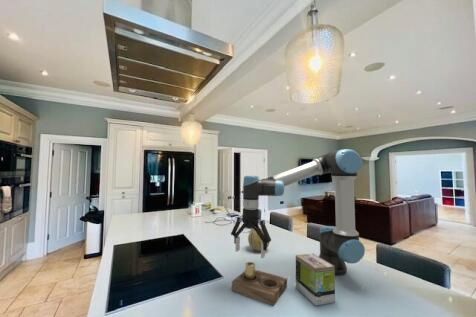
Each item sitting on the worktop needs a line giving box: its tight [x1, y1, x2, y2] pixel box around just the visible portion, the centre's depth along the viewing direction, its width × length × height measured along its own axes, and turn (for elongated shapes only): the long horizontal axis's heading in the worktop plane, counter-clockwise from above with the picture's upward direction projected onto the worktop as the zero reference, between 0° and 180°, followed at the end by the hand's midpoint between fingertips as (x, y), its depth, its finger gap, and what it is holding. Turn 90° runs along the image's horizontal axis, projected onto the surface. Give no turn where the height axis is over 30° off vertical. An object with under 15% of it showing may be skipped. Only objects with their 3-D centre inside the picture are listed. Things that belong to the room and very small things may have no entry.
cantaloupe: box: [247, 227, 271, 252], centre depth 146 cm, size 15×15×15 cm
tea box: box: [295, 253, 336, 306], centre depth 95 cm, size 15×10×15 cm, turn 17°
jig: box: [231, 269, 288, 306], centre depth 98 cm, size 16×20×4 cm
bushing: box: [245, 261, 256, 280], centre depth 101 cm, size 4×4×10 cm
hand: (249, 253), depth 101 cm, fingers open, 13 cm apart
